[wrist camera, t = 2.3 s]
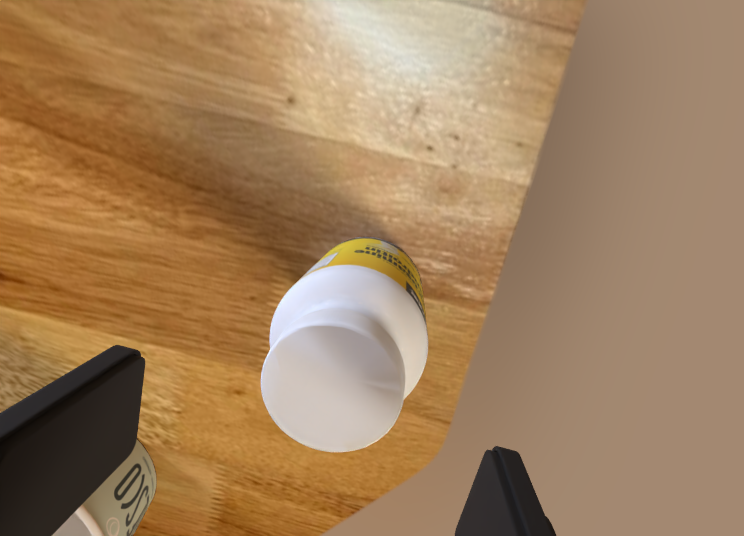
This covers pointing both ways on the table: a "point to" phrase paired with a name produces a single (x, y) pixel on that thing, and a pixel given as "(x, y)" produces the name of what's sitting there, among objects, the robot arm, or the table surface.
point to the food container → (116, 500)
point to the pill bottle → (346, 347)
